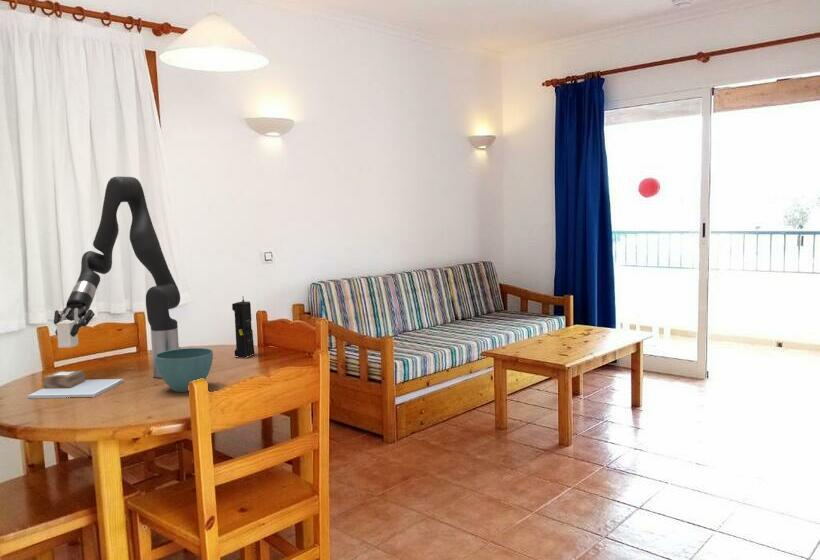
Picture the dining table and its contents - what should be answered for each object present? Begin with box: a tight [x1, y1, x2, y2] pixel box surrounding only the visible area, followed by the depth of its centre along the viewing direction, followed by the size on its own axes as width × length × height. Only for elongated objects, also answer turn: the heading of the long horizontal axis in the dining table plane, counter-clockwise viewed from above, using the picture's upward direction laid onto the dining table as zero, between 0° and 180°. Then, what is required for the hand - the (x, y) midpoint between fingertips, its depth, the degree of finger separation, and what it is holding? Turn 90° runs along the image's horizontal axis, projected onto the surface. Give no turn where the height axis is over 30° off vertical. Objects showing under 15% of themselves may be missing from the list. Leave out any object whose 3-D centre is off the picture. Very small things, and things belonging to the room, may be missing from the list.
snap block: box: [55, 320, 79, 349], centre depth 222 cm, size 4×4×9 cm
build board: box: [26, 369, 124, 399], centre depth 216 cm, size 22×20×5 cm
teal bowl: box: [155, 347, 214, 393], centre depth 214 cm, size 18×18×12 cm
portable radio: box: [231, 297, 255, 357], centre depth 263 cm, size 8×6×25 cm
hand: (65, 335), depth 221 cm, fingers closed on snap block, 4 cm apart
